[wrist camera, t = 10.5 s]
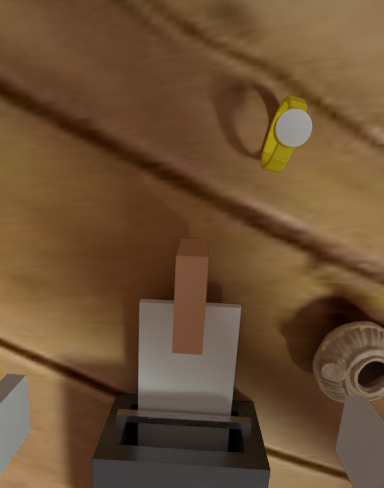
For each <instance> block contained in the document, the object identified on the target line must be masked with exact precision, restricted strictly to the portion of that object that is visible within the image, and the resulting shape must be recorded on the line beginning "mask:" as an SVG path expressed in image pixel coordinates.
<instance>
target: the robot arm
mask: <svg viewBox="0 0 384 488" xmlns="http://www.w3.org/2000/svg"><path fill="white" fill-rule="evenodd" d="M30 431H31V428H30V416H29V405H28V393H27V381H26V375H17V374H7V375H6V376H5V377H4V378H3V379H2V380H1V381H0V475H1V474H2V472H3V471H4V469H5V468H6V466H7V465H8V463H9V462H10V461H11V459H12V458H13V456H14V455H15V453H16V452H17V450H18V449H19V447H20V446H21V444H22V443H23V441H24V440H25V438H26V437H27V435H28V434H29V433H30ZM335 452H336V454H337V456H338V458H339V460H340V462H341V464H342V466H343V468H344V470H345V472H346V473H347V475H348V477H349V479H350V481H351V483H352V485H353V487H354V488H384V420H383V419H382V418H381V417H380V415H379V414H378V413H377V411H376V410H375V409H374V408H373V406H372V405H371V404H370V402H369V401H368V400H367V399H366V397H363V396H347V395H346V398H345V403H344V408H343V413H342V418H341V423H340V429H339V434H338V439H337V444H336V449H335Z"/></svg>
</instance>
